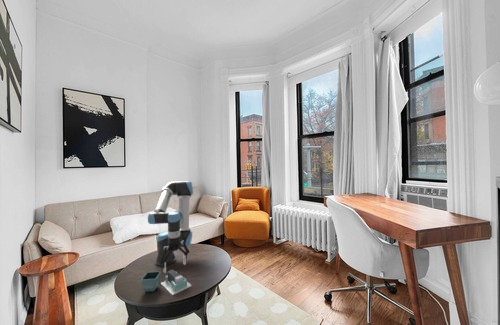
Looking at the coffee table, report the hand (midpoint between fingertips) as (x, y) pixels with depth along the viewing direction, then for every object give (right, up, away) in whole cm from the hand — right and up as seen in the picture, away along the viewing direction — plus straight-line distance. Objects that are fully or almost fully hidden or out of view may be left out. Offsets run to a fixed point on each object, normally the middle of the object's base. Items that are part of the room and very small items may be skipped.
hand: (174, 268), depth 137 cm
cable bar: (0, -10, -1) cm, 10 cm away
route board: (+1, -10, -2) cm, 10 cm away
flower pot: (-13, -11, -6) cm, 17 cm away
